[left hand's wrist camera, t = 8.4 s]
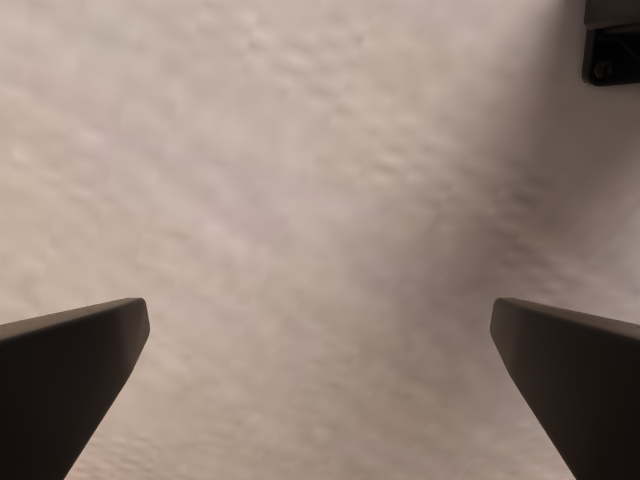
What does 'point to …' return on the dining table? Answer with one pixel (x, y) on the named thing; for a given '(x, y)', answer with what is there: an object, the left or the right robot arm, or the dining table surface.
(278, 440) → the dining table surface
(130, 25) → the dining table surface
